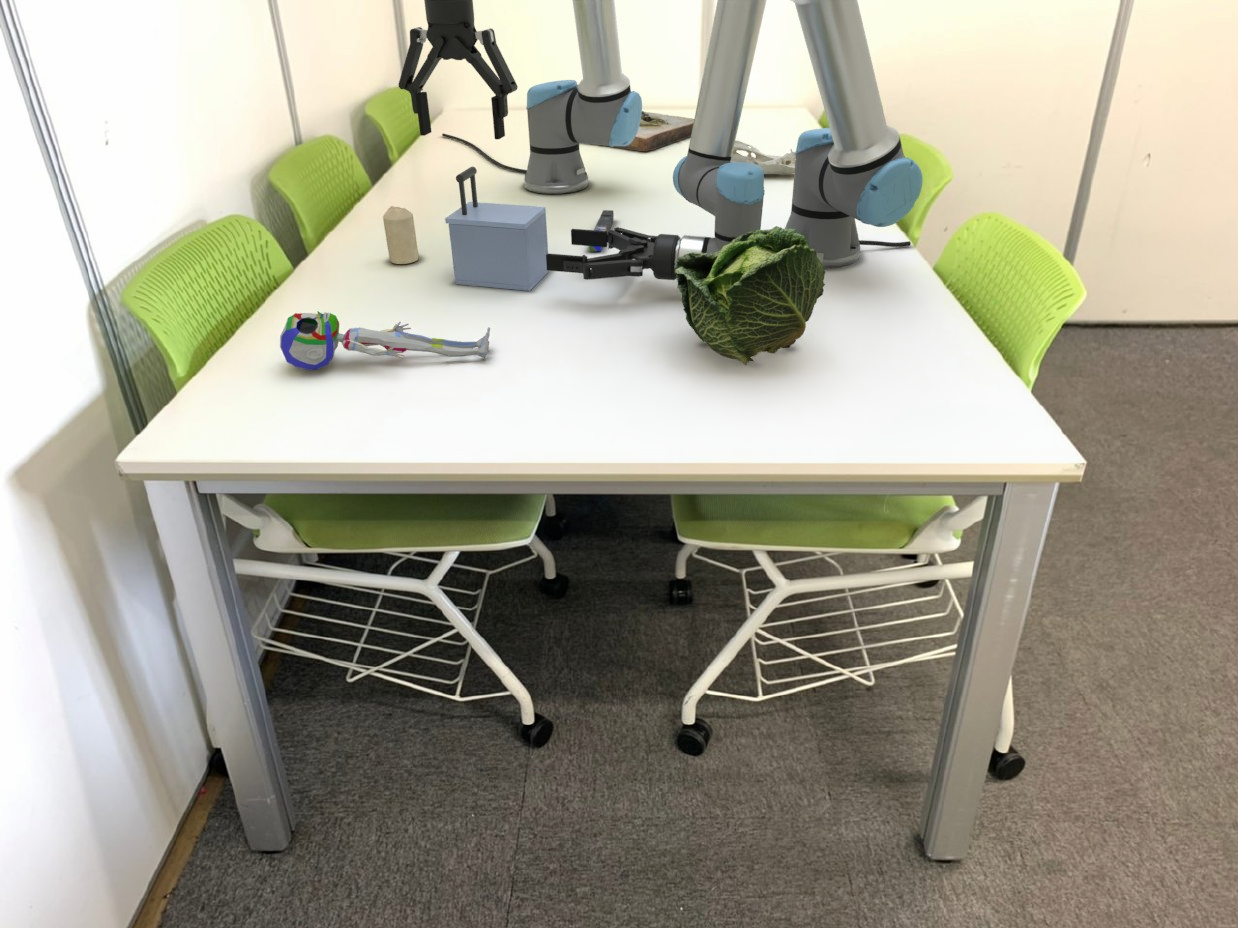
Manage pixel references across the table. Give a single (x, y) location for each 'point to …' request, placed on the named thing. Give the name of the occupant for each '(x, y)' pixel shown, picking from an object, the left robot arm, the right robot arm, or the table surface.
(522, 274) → the chest
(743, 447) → the table surface
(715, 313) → the vegetable
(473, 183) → the lid
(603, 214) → the pillar
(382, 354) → the toy
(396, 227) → the candle
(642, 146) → the plaque
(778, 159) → the anatomical model
